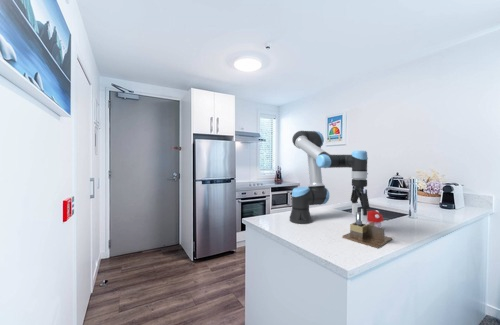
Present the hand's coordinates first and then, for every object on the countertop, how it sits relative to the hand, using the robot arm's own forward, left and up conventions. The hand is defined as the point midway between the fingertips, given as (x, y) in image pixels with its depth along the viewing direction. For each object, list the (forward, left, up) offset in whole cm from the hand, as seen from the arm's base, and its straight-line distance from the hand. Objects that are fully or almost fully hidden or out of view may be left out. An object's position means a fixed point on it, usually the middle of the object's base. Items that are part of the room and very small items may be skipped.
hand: (359, 217), depth 117 cm
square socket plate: (+3, +3, -11) cm, 12 cm away
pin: (0, 0, -10) cm, 10 cm away
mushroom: (-1, +20, -11) cm, 23 cm away
